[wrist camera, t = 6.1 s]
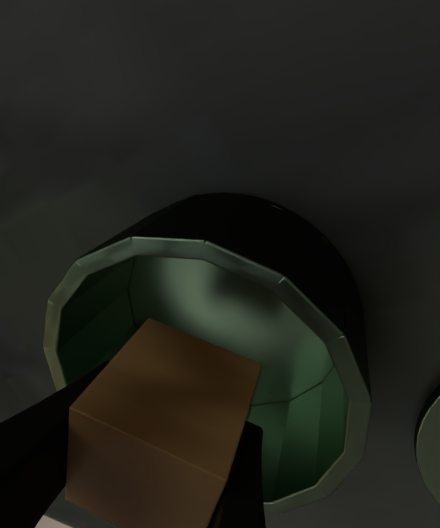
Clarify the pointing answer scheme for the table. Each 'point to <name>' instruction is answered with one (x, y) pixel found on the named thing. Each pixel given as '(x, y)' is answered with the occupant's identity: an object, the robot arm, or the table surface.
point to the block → (159, 430)
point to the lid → (429, 444)
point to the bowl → (236, 325)
